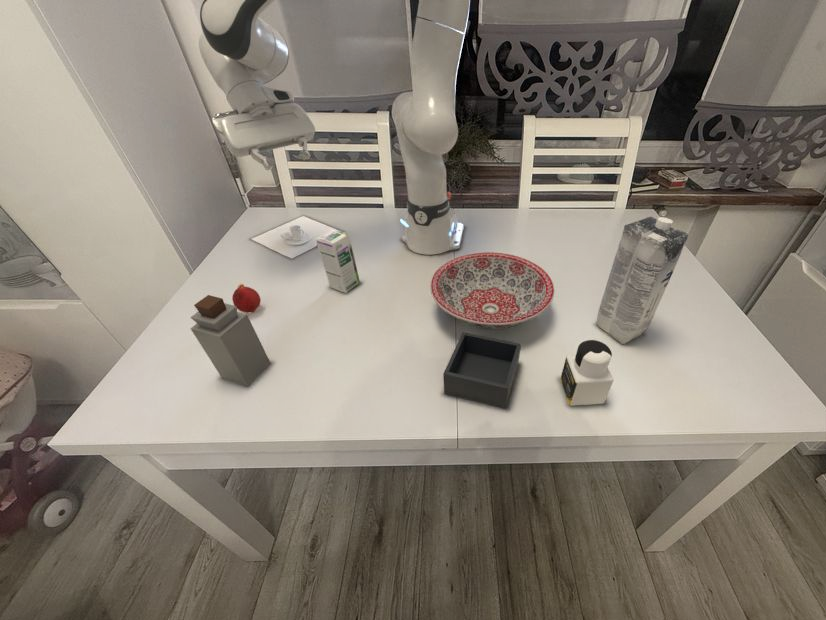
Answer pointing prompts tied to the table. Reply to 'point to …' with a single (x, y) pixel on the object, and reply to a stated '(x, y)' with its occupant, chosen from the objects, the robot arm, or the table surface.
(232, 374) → the perfume bottle
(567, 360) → the medicine bottle
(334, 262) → the syrup box
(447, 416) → the table surface
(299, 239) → the teacup and saucer
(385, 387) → the table surface
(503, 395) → the bin
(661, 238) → the juice carton
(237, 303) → the onion
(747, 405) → the table surface
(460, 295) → the ceramic bowl
